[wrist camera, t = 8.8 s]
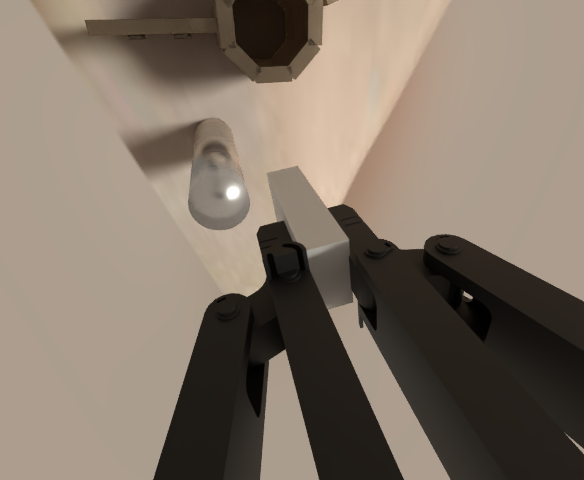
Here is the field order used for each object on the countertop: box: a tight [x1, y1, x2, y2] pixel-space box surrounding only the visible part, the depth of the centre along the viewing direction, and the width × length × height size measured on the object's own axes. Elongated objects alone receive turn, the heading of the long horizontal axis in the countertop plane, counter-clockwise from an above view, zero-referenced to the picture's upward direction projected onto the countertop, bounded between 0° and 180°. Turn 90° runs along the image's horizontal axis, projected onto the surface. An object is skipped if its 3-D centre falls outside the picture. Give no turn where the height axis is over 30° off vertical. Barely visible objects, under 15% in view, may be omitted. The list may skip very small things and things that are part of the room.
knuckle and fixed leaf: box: [85, 0, 323, 83], centre depth 23 cm, size 7×15×8 cm, turn 91°
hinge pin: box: [188, 118, 250, 230], centre depth 25 cm, size 4×4×15 cm
